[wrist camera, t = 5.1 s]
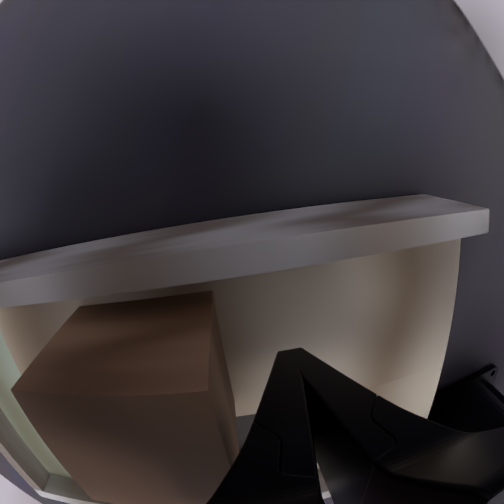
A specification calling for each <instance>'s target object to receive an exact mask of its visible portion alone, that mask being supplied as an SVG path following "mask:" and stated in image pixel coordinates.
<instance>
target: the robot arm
mask: <svg viewBox="0 0 504 504" xmlns="http://www.w3.org/2000/svg"><path fill="white" fill-rule="evenodd" d="M497 370H498V368H497V367H496V366H495V365H494V364H493V365H490V366H489V367H487V368H485V369H483V370H481V371H479V372H477V373H475V374H473V375H471V376H469V377H467V378H465V379H463V380H461V381H459V382H457V383H455V384H453V385H451V386H448V387H446V388H444V389H442V390H439V391H437V392H436V393H435V396H434V399H433V403H432V406H431V409H430V412H429V415H428V418H427V419H426V418H424V417H421V416H419V415H416V414H414V413H412V412H410V411H408V410H405V409H403V408H401V407H399V406H397V405H395V404H394V403H392V402H390V401H388V400H386V399H385V398H383V397H381V396H379V395H377V394H376V393H374V392H373V391H371V390H369V389H367V388H366V387H364V386H362V385H361V384H359V383H358V382H356V381H354V380H353V379H351V378H349V377H348V376H346V375H344V374H343V373H341V372H340V371H338V370H336V369H335V368H333V367H332V366H330V365H328V364H327V363H325V362H324V361H322V360H320V359H319V358H317V357H316V356H314V355H312V354H311V353H309V352H308V351H306V350H305V349H303V348H301V347H299V348H294V349H288V350H282V351H278V352H277V354H276V357H275V360H274V363H273V366H272V369H271V372H270V375H269V378H268V381H267V384H266V387H265V389H264V392H263V395H262V398H261V401H260V404H259V406H258V409H257V412H256V415H255V417H254V420H253V423H252V425H251V428H250V430H249V433H248V435H247V438H246V440H245V442H244V445H243V447H242V448H241V450H240V452H239V454H238V456H237V458H236V459H235V461H234V463H233V464H232V466H231V467H230V469H229V471H228V472H227V474H226V475H225V477H224V479H223V480H222V482H221V483H220V485H219V486H218V488H217V489H216V491H215V492H214V494H213V495H212V497H211V498H210V499H209V501H208V502H207V503H206V504H325V503H324V500H323V497H322V493H321V488H320V481H319V474H318V467H317V463H318V466H319V468H320V471H321V473H322V476H323V478H324V480H325V483H326V485H327V488H328V490H329V492H330V495H331V497H332V500H333V502H334V504H504V396H503V395H502V394H501V393H500V392H499V391H498V390H497V389H496V388H495V387H494V386H493V385H492V384H493V382H494V379H495V376H496V373H497Z"/></svg>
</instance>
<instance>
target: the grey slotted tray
mask: <svg viewBox="0 0 504 504" xmlns="http://www.w3.org/2000/svg"><path fill="white" fill-rule="evenodd" d="M488 230H489V209H488V208H484V207H480V206H475V205H471V204H467V203H463V202H458V201H454V200H449V199H445V198H440V197H435V196H431V195H426V194H421V195H410V196H399V197H389V198H380V199H370V200H361V201H352V202H343V203H335V204H327V205H318V206H310V207H302V208H295V209H287V210H280V211H272V212H265V213H258V214H251V215H244V216H237V217H230V218H224V219H217V220H211V221H204V222H198V223H192V224H185V225H179V226H173V227H167V228H161V229H156V230H150V231H144V232H138V233H133V234H127V235H122V236H116V237H111V238H105V239H100V240H95V241H90V242H85V243H79V244H74V245H69V246H64V247H60V248H55V249H50V250H45V251H40V252H36V253H31V254H26V255H22V256H17V257H13V258H8V259H4V260H0V452H1V453H2V454H3V455H4V457H5V458H6V459H7V460H8V461H9V463H10V464H11V465H12V466H13V467H14V468H15V470H16V471H17V472H18V473H19V474H20V475H21V476H22V477H23V478H24V479H25V480H26V482H27V483H28V484H29V485H30V486H31V487H32V488H33V489H34V490H35V491H36V492H37V493H38V494H39V495H40V496H42V497H46V498H50V499H53V500H57V501H61V502H66V503H70V504H117V503H109V502H102V501H96V500H92V499H91V498H90V497H89V496H88V495H87V493H86V492H85V491H84V490H83V489H82V488H81V487H80V486H79V485H78V484H77V482H76V481H75V480H74V479H73V478H72V477H71V476H70V474H69V473H68V472H67V471H66V470H65V468H64V467H63V466H62V465H61V464H60V462H59V461H58V460H57V459H56V457H55V456H54V455H53V453H52V452H51V451H50V449H49V448H48V447H47V445H46V444H45V443H44V441H43V440H42V438H41V437H40V436H39V434H38V433H37V431H36V430H35V428H34V427H33V425H32V424H31V422H30V421H29V419H28V418H27V416H26V415H25V413H24V412H23V410H22V408H21V407H20V405H19V403H18V402H17V400H16V398H15V397H14V395H13V393H12V392H11V388H12V387H13V386H14V384H15V383H16V382H17V380H18V379H19V378H20V377H21V375H22V374H23V373H24V371H25V370H26V369H27V368H28V366H29V365H30V364H31V363H32V361H33V360H34V359H35V358H36V356H37V355H38V354H39V353H40V351H41V350H42V349H43V348H44V346H45V345H46V344H47V343H48V342H49V340H50V339H51V338H52V337H53V336H54V335H55V333H56V332H57V331H58V330H59V329H60V328H61V326H62V325H63V324H64V323H65V322H66V321H67V319H68V318H69V317H70V316H71V315H72V314H73V313H74V312H75V310H76V309H77V308H78V307H79V306H86V305H95V304H105V303H114V302H123V301H132V300H140V299H149V298H157V297H165V296H173V295H181V294H189V293H196V292H204V291H211V290H212V291H213V296H214V302H215V307H216V312H217V318H218V323H219V328H220V333H221V339H222V344H223V349H224V354H225V359H226V363H227V368H228V373H229V378H230V382H231V387H232V392H233V396H234V401H235V413H236V425H237V436H238V448H239V452H240V450H241V448H242V447H243V445H244V442H245V440H246V438H247V435H248V433H249V430H250V428H251V425H252V423H253V420H254V417H255V415H256V412H257V409H258V406H259V404H260V401H261V398H262V395H263V392H264V389H265V387H266V384H267V381H268V378H269V375H270V372H271V369H272V366H273V363H274V360H275V357H276V354H277V352H278V351H282V350H288V349H294V348H299V347H301V348H303V349H305V350H306V351H308V352H309V353H311V354H312V355H314V356H316V357H317V358H319V359H320V360H322V361H324V362H325V363H327V364H328V365H330V366H332V367H333V368H335V369H336V370H338V371H340V372H341V373H343V374H344V375H346V376H348V377H349V378H351V379H353V380H354V381H356V382H358V383H359V384H361V385H362V386H364V387H366V388H367V389H369V390H371V391H373V392H374V393H376V394H377V395H379V396H381V397H383V398H385V399H386V400H388V401H390V402H392V403H394V404H395V405H397V406H399V407H401V408H403V409H405V410H408V411H410V412H412V413H414V414H416V415H419V416H421V417H424V418H426V419H427V418H428V415H429V412H430V409H431V406H432V403H433V399H434V396H435V393H436V389H437V385H438V382H439V378H440V374H441V370H442V366H443V362H444V358H445V353H446V349H447V344H448V339H449V334H450V328H451V323H452V317H453V311H454V304H455V297H456V289H457V280H458V271H459V259H460V244H461V238H465V237H470V236H475V235H480V234H485V233H488ZM317 467H318V474H319V481H320V488H321V493H322V497H323V499H325V498H328V497H331V495H330V492H329V490H328V488H327V485H326V483H325V480H324V478H323V476H322V473H321V471H320V468H319V466H318V463H317Z"/></svg>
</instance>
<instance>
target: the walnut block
mask: <svg viewBox="0 0 504 504" xmlns="http://www.w3.org/2000/svg"><path fill="white" fill-rule="evenodd" d="M11 392H12V393H13V395H14V397H15V398H16V400H17V402H18V403H19V405H20V407H21V408H22V410H23V412H24V413H25V415H26V416H27V418H28V419H29V421H30V422H31V424H32V425H33V427H34V428H35V430H36V431H37V433H38V434H39V436H40V437H41V438H42V440H43V441H44V443H45V444H46V445H47V447H48V448H49V449H50V451H51V452H52V453H53V455H54V456H55V457H56V459H57V460H58V461H59V462H60V464H61V465H62V466H63V467H64V468H65V470H66V471H67V472H68V473H69V474H70V476H71V477H72V478H73V479H74V480H75V481H76V482H77V484H78V485H79V486H80V487H81V488H82V489H83V490H84V491H85V492H86V493H87V495H88V496H89V497H90V498H91V499H92V500H96V501H102V502H109V503H117V504H206V503H207V502H208V501H209V499H210V498H211V497H212V495H213V494H214V492H215V491H216V489H217V488H218V486H219V485H220V483H221V482H222V480H223V479H224V477H225V475H226V474H227V472H228V471H229V469H230V467H231V466H232V464H233V463H234V461H235V459H236V458H237V456H238V454H239V448H238V436H237V425H236V413H235V401H234V396H233V392H232V387H231V382H230V378H229V373H228V368H227V363H226V359H225V354H224V349H223V344H222V339H221V333H220V328H219V323H218V318H217V312H216V307H215V302H214V296H213V291H212V290H211V291H204V292H196V293H189V294H181V295H173V296H165V297H157V298H149V299H140V300H132V301H123V302H114V303H105V304H95V305H86V306H79V307H78V308H77V309H76V310H75V312H74V313H73V314H72V315H71V316H70V317H69V318H68V319H67V321H66V322H65V323H64V324H63V325H62V326H61V328H60V329H59V330H58V331H57V332H56V333H55V335H54V336H53V337H52V338H51V339H50V340H49V342H48V343H47V344H46V345H45V346H44V348H43V349H42V350H41V351H40V353H39V354H38V355H37V356H36V358H35V359H34V360H33V361H32V363H31V364H30V365H29V366H28V368H27V369H26V370H25V371H24V373H23V374H22V375H21V377H20V378H19V379H18V380H17V382H16V383H15V384H14V386H13V387H12V388H11Z"/></svg>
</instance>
